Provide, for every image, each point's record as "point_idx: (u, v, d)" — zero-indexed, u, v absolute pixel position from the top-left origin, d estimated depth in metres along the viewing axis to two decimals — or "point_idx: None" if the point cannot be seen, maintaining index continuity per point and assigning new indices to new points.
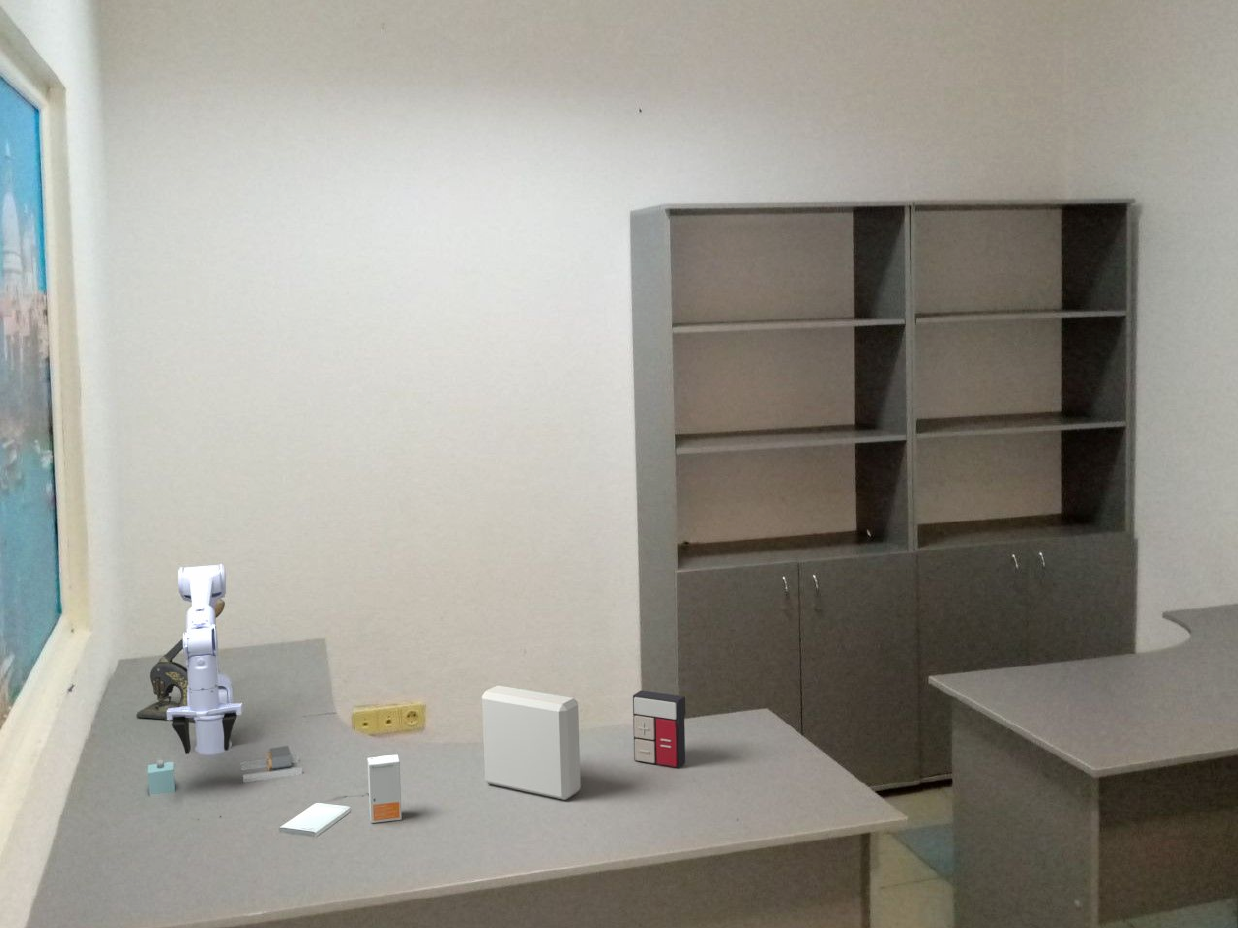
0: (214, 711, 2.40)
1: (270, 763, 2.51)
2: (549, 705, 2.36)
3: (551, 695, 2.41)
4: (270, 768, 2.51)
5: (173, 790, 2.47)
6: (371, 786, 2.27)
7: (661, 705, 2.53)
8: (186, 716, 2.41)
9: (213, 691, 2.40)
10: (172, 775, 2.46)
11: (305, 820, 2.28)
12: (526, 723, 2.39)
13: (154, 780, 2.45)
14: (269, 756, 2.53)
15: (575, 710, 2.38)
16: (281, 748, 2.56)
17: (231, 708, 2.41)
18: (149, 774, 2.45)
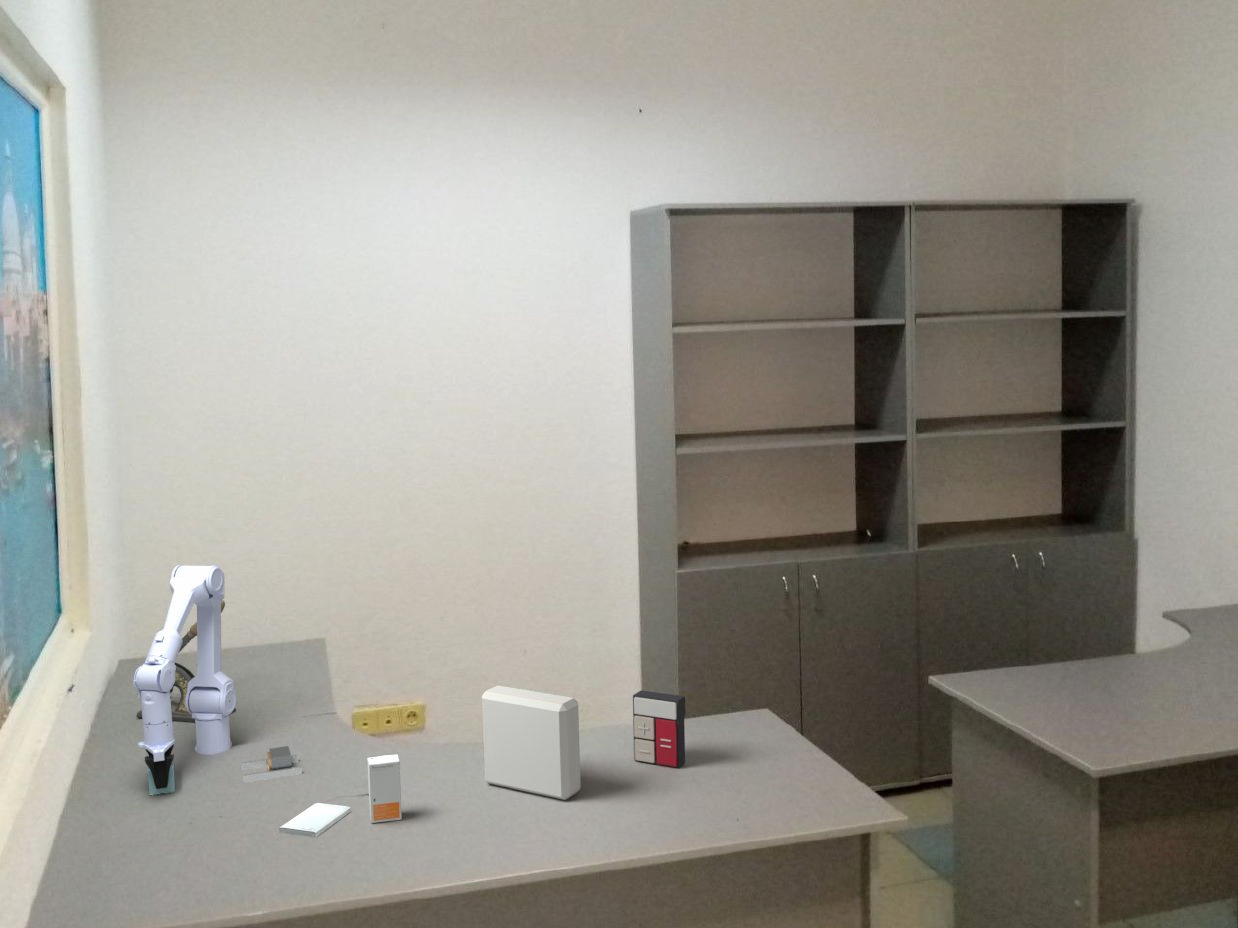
0: (146, 747, 2.44)
1: (270, 763, 2.51)
2: (549, 705, 2.36)
3: (551, 695, 2.41)
4: (270, 768, 2.51)
5: (173, 790, 2.47)
6: (371, 786, 2.27)
7: (661, 705, 2.53)
8: None
9: (148, 728, 2.44)
10: (172, 775, 2.46)
11: (305, 820, 2.28)
12: (526, 723, 2.39)
13: None
14: (269, 756, 2.53)
15: (575, 710, 2.38)
16: (281, 748, 2.56)
17: (152, 751, 2.41)
18: (149, 774, 2.45)
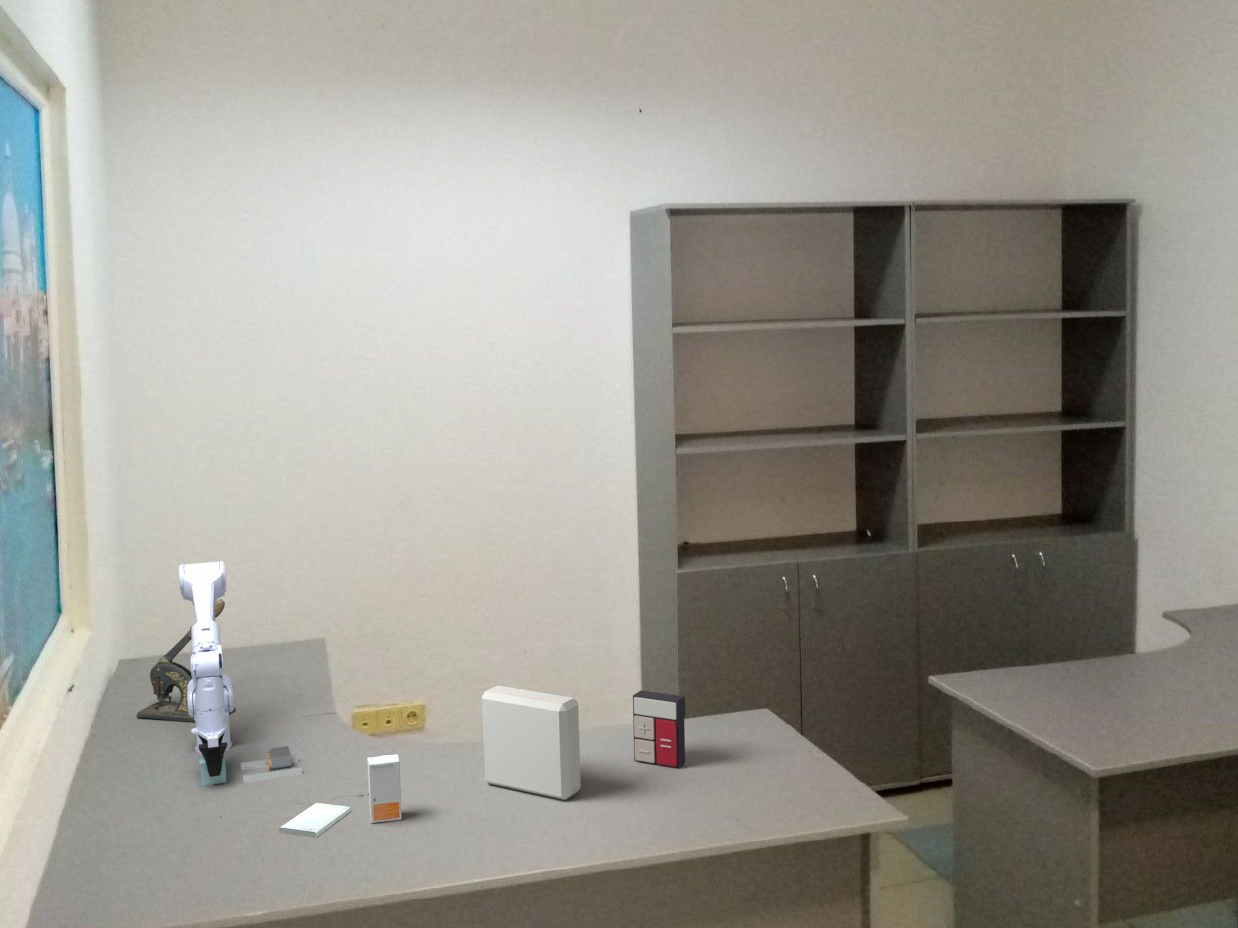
0: (199, 733, 2.46)
1: (270, 763, 2.51)
2: (549, 705, 2.36)
3: (551, 695, 2.41)
4: (270, 768, 2.51)
5: (224, 780, 2.48)
6: (371, 786, 2.27)
7: (661, 705, 2.53)
8: None
9: (202, 714, 2.45)
10: (224, 766, 2.48)
11: (305, 820, 2.28)
12: (526, 723, 2.39)
13: (206, 771, 2.47)
14: (269, 756, 2.53)
15: (575, 710, 2.38)
16: (281, 748, 2.56)
17: (206, 737, 2.43)
18: (201, 764, 2.46)
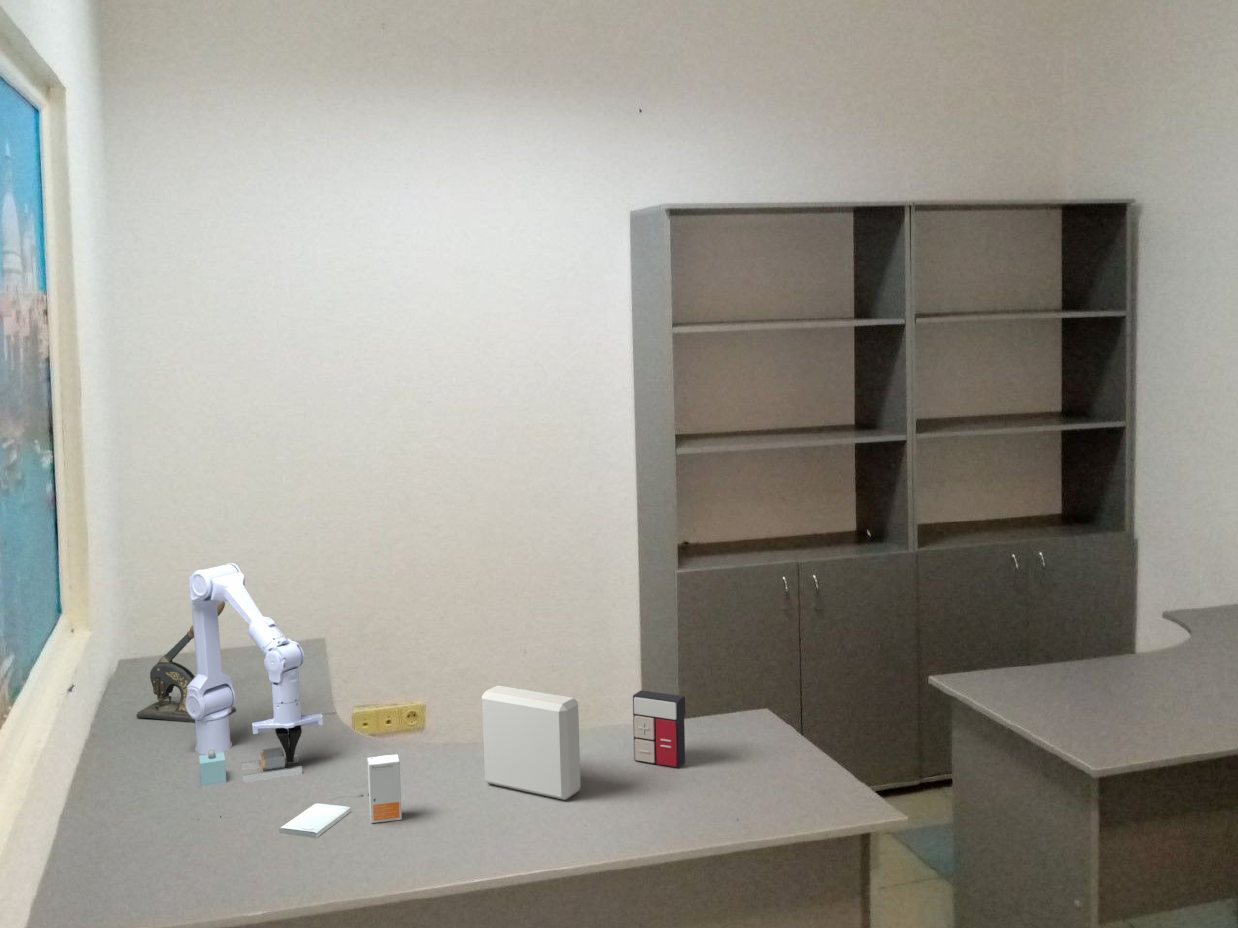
0: (299, 722, 2.53)
1: (263, 764, 2.51)
2: (549, 705, 2.36)
3: (551, 695, 2.41)
4: (263, 769, 2.51)
5: (224, 780, 2.48)
6: (371, 786, 2.27)
7: (661, 705, 2.53)
8: (270, 729, 2.53)
9: (298, 703, 2.53)
10: (224, 766, 2.48)
11: (305, 821, 2.28)
12: (526, 723, 2.39)
13: (206, 771, 2.47)
14: (262, 757, 2.52)
15: (575, 710, 2.38)
16: (275, 749, 2.56)
17: (314, 718, 2.55)
18: (201, 764, 2.46)
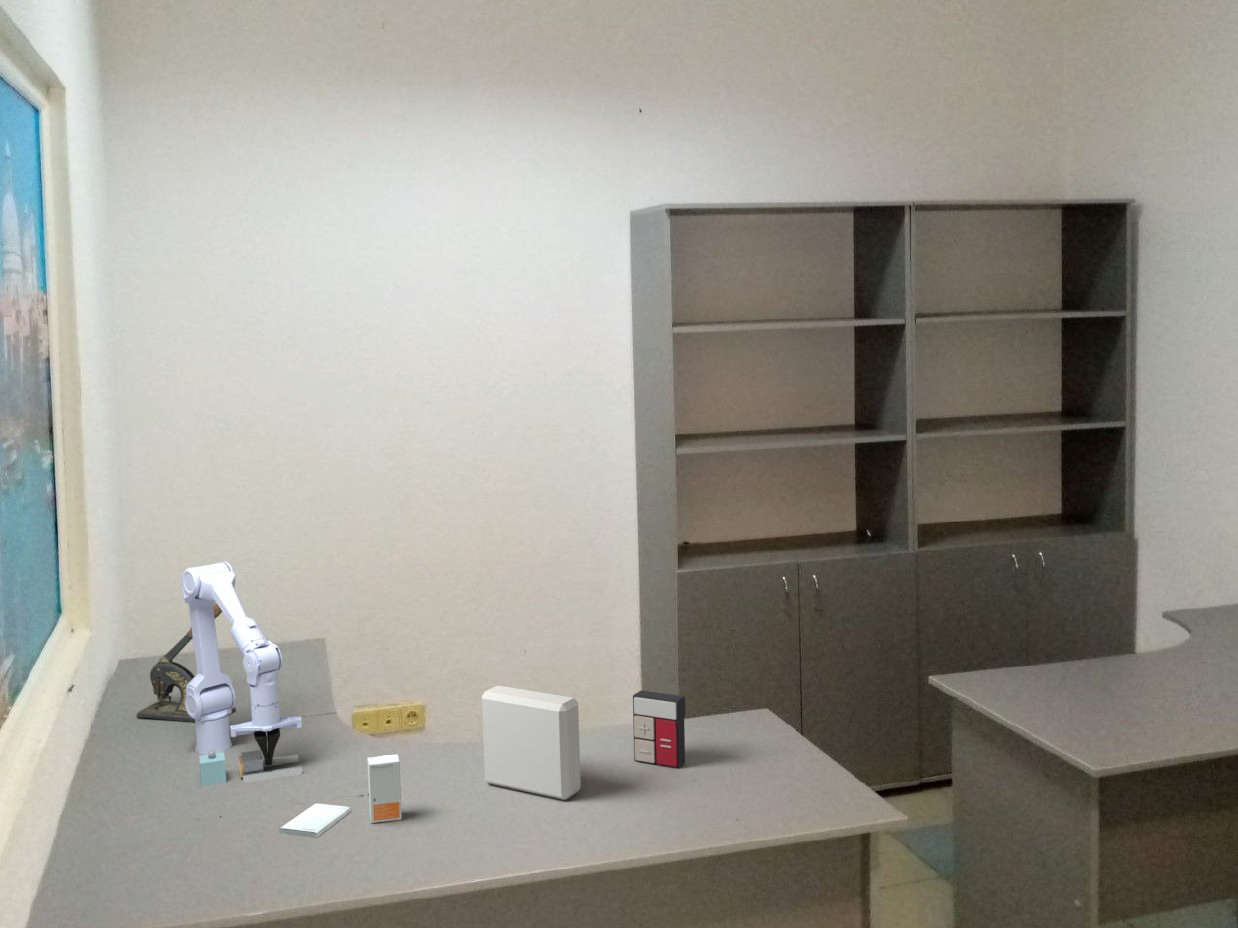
0: (278, 725, 2.51)
1: (241, 767, 2.49)
2: (549, 705, 2.36)
3: (551, 695, 2.41)
4: (241, 772, 2.49)
5: (224, 780, 2.48)
6: (371, 786, 2.27)
7: (661, 705, 2.53)
8: (249, 732, 2.51)
9: (276, 706, 2.51)
10: (224, 766, 2.48)
11: (305, 821, 2.28)
12: (526, 723, 2.39)
13: (206, 771, 2.47)
14: (241, 760, 2.51)
15: (575, 710, 2.38)
16: (253, 752, 2.54)
17: (293, 721, 2.53)
18: (201, 764, 2.46)
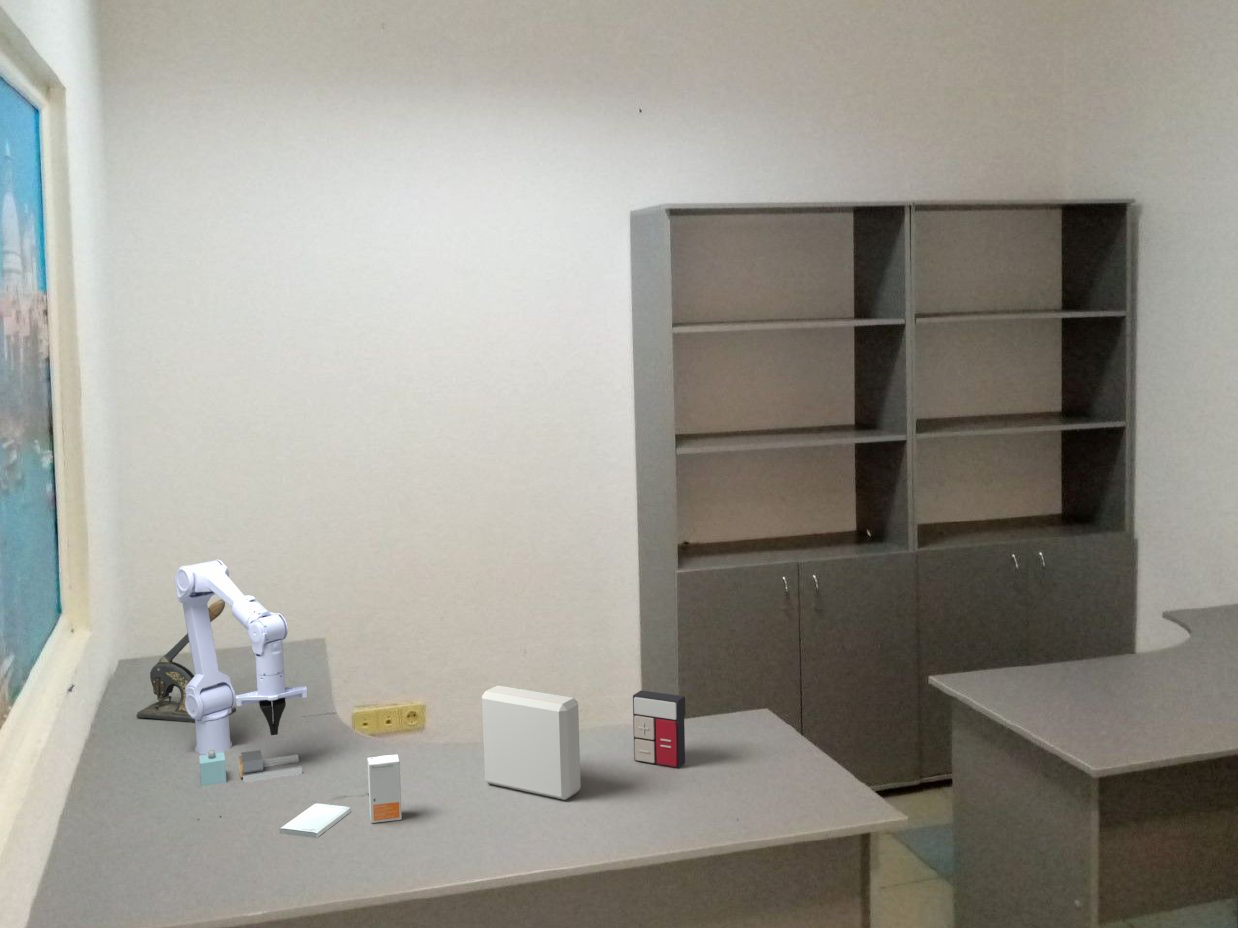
0: (283, 695, 2.51)
1: (241, 767, 2.49)
2: (549, 705, 2.36)
3: (551, 695, 2.41)
4: (241, 772, 2.49)
5: (224, 780, 2.48)
6: (371, 786, 2.27)
7: (661, 705, 2.53)
8: (254, 701, 2.51)
9: (282, 676, 2.51)
10: (224, 766, 2.48)
11: (305, 821, 2.28)
12: (526, 723, 2.39)
13: (206, 771, 2.47)
14: (241, 760, 2.51)
15: (575, 710, 2.38)
16: (253, 752, 2.54)
17: (298, 691, 2.53)
18: (201, 764, 2.46)
